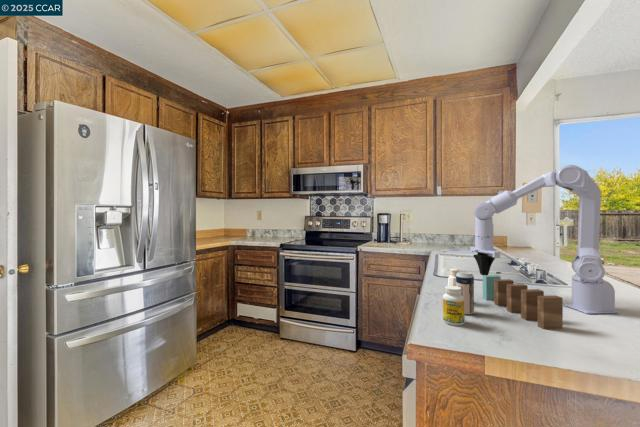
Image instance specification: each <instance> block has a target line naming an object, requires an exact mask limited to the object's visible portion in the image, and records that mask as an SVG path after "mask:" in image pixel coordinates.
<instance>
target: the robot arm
mask: <svg viewBox="0 0 640 427" xmlns="http://www.w3.org/2000/svg"><path fill="white" fill-rule="evenodd" d="M555 186H558V187H560V188H562V189H566V190H568V191H570V192H572V193H573V194H574V195H576V196H577V197H578V222H577V225H578V228H577V248H576V253H575V258H574V259H573V260H572V263H571V268H572V270H573V272H574V273H575V274H574V275H572V276H571V303H564V304H563V305H564V306H566V307H568V308H570V309H573V310H575V311H579V312H582V313H584V314H587V315H590V314H594V315H596V314H599V315H600V314H618V313H619V312H618V310H616V306H615V305H616V304H615V303H616V302H615V301H616V298H615V297H616V291H615V287H614V286H613V285H612V284H611V283H610V281H607V280H605V279H604V277H605V275H606V270H605V268H604V266H603V264H602V257H601V252H600V231H601V230H600V228H601V204H602V203H601V202H602V196H601V195H602V191H601V188H600V186H599V185H598V184H597V183H596V181H594V179H593V178H592V177H591V176H590V174H589V173H588V171H587V170H585V169H584V168H582V167H579V166H578V165H575V164H574V165H573V164H567V165H564V166H561V167H559V169H558V170H557V169H554V170H552V171H549V172H546V173H544V174H542V175H539V176H538V177H536V178H534V179H533V180H531V181H528V182H527V183H525V184H523V185H522V186H520V187H517V188H516V189H515V190H504V191H502V190H500V191H498V192H497V194H496V195H495V196H492V197H491V198H489V199H488V198H486V199H484V202H479V203H478V204H476V206H475V207H474V210H473V213H474V216H475V219H474V222H475V223H474V246H469V248H470V249H469V250H470V253H477V254H473V258H474V259H475V262H476V265H477V266H478V271H479V274H480V275H481V276H483V275H490V271H491V268H492V264H493V262H494V261H495V260H496V259H499V258H500V259H501V251H498V250H496V249H494V222H493V216H494V215H495V214H496V215H497V214H500V213H502V212H504V211H506V210H508V209H510V208H512V207H514V206H516V205H517V203H518V200H519V199H522V198H523V197H525V196H527V195H530V194H531V193H534V192H536V191H538V190H540V189H542V188H550V187H551V188H553V187H555Z"/></svg>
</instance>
